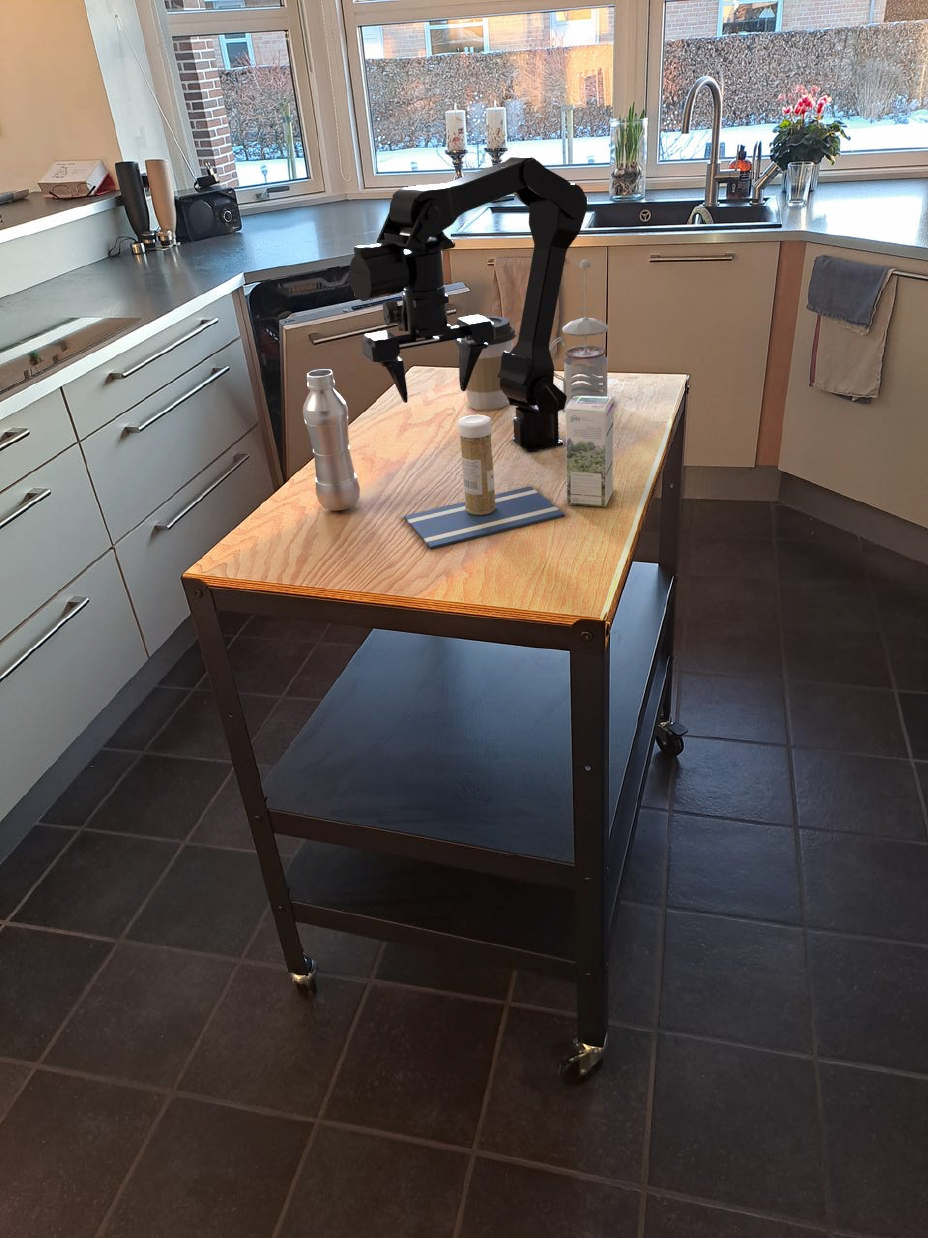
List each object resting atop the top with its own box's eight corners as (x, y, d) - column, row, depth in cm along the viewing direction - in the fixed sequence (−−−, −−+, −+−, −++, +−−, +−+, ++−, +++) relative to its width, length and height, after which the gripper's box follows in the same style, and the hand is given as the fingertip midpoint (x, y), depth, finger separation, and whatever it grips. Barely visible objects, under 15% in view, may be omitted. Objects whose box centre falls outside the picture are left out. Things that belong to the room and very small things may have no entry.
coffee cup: (462, 395, 177) (456, 315, 169) (521, 393, 175) (518, 312, 168) (454, 415, 168) (447, 331, 160) (516, 413, 166) (512, 329, 158)
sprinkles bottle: (502, 510, 131) (498, 419, 124) (476, 519, 129) (469, 427, 122) (484, 500, 134) (478, 410, 127) (458, 509, 132) (451, 418, 125)
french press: (616, 411, 163) (618, 263, 150) (550, 416, 164) (546, 268, 151) (609, 394, 171) (610, 251, 158) (547, 398, 172) (543, 257, 159)
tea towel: (530, 488, 137) (530, 485, 137) (564, 515, 128) (564, 513, 128) (404, 518, 132) (403, 515, 131) (430, 549, 123) (430, 546, 123)
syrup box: (613, 491, 134) (614, 394, 127) (605, 508, 129) (606, 408, 122) (575, 489, 136) (574, 393, 128) (565, 506, 131) (564, 407, 124)
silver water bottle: (327, 519, 133) (305, 383, 123) (312, 503, 138) (289, 372, 128) (369, 508, 135) (350, 374, 125) (352, 493, 141) (333, 363, 130)
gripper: (464, 268, 138) (471, 371, 146) (344, 287, 132) (358, 393, 140) (494, 280, 129) (500, 390, 137) (366, 301, 123) (380, 414, 131)
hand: (434, 396), depth 137 cm, fingers open, 9 cm apart
